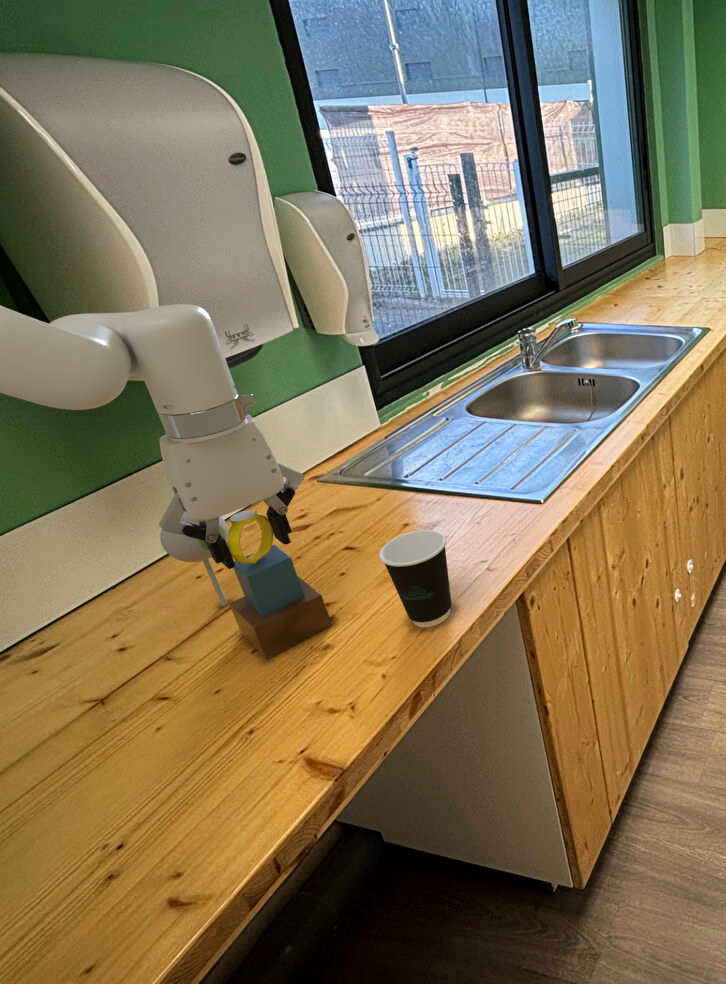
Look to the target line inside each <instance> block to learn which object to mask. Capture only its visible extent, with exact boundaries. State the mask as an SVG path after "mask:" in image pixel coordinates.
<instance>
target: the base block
mask: <svg viewBox="0 0 726 984" xmlns="http://www.w3.org/2000/svg"><path fill="white" fill-rule="evenodd" d="M297 576H298V579H299V582H300V584H301V587H302V590H303V593H304V595H305V596H304V597H302V598H300V599H298V600H296V601H294V602H292V603H290V604H288V605H286V606H284V607H282V608H280V609H277V610H275V611H273V612H271V613H269V614H267V615H265V616H262V615H261V614H260V613H258V612H257V611H256V610H255V609H254V608H253V607H252V606H251V605H250V604H249V603H248V602H247V600H246V598H245V596H242V597H240V598H238V599H235V600H234V601H231V602H229V603H228V605H229V607H230V610H231V612H232V615H233V617H234V619H235V621H236V624H237V626H238V628H239V631H240V633H241V636H243V637H244V638H245V639H246V641H248V642H249V644H251V645H252V646H253V648H254V649H255V650H257V652H258V653H260V655H261V656H262V657H263V658H264V659H265V660H267V661H268V660H270V659H271V658H273V657H275V656H277V655H279V654H281V653H283V652H285V651H286V650H288V649H290V648H292V647H294V646H296V645H298V644H299V643H302V642H304V641H306V640H307V639H310V638H311V637H313V636H315V635H317V634H319V633H321V632H323V631H324V630H326V629H328V628H330V627H332V625H333V624H332V621H331V618H330V615H329V613H328V612H329V611H328V610H327V607H326V604H325V601H324V598H323V595H322V594H321V593H320V592H319V591H318V590H316V589H315V588H314V587H312V586H311V585H310V584H309V583H307V582H306V581H305V580H304V579H302V578H301V576H299V575H298V574H297Z"/></svg>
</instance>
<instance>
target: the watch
mask: <svg viewBox="0 0 726 984" xmlns="http://www.w3.org/2000/svg"><path fill="white" fill-rule="evenodd" d="M229 521H230V523H231V526H230V528H229V529H228V538H227V541H226V543H227V546H228V548H229V550H230V553H231V555H232V558H233V560H234V561H237V562H240V563H244V564H254V563H256V562H257V561H258V560H259V559H260V558H261V557H263V556H264V555H265V554H267V553H268V552H269V551H270V549H271V546H272V545H273V543H274V533H273V528H272V526H271V523H270V521H269V520H268V517H267V516H265V515H264V514H262V513H258V511H256V510H254V509H249V510H242V511H239V512H237V513H234V514H233V515H232V516H230V518H229ZM255 521H256V522H257V523H258V525H259V528H260V530H261V542H260V544H259V547H258V550H257V551H256V553H255V552H253V553H254V554H253V553H252V554H253V555H252V556H250V557H249V558H248V559H247V558H246V556H247V555H245V554H244V553H243V549H242V547H241V546H242V545H241V537H242V531H243V529H244V527H245V526H246V525H249V524H252V523H254V522H255Z"/></svg>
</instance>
